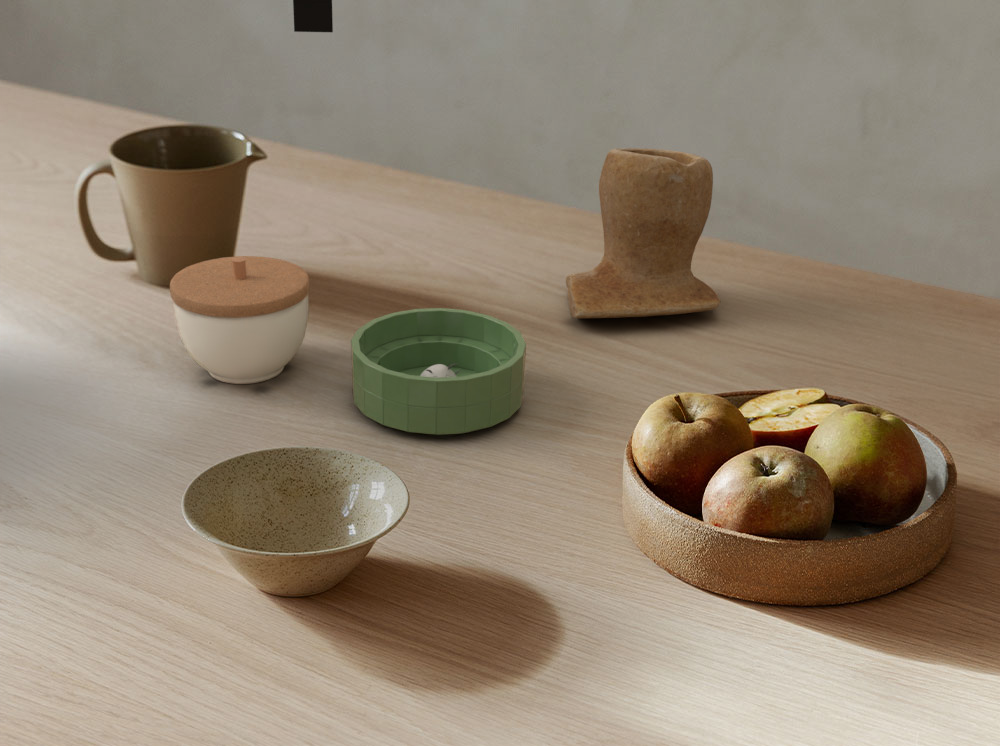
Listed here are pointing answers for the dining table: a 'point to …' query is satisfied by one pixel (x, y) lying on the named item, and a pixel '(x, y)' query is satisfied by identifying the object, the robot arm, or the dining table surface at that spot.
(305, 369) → the dining table surface
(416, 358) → the green bowl
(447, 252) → the dining table surface
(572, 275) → the stone cup
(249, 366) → the lidded sugar bowl
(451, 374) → the white garlic bulb
